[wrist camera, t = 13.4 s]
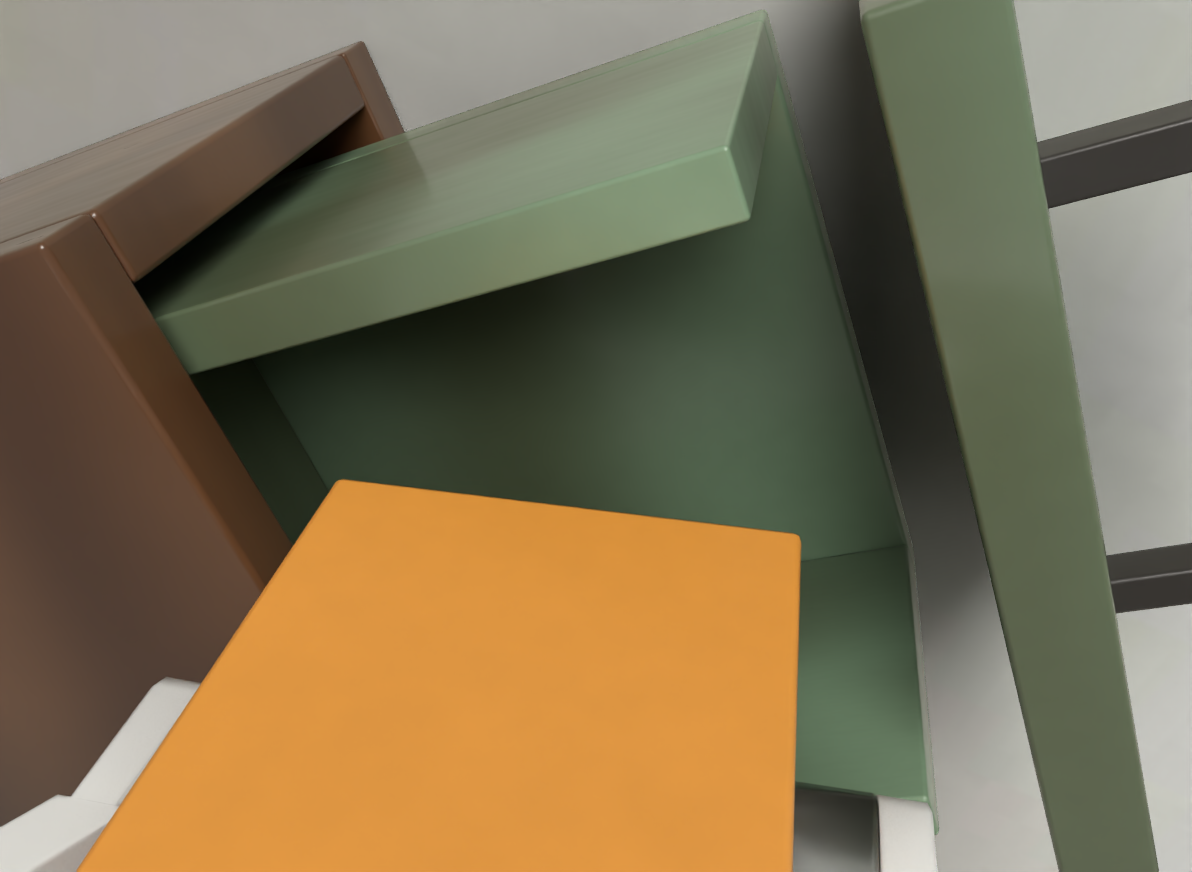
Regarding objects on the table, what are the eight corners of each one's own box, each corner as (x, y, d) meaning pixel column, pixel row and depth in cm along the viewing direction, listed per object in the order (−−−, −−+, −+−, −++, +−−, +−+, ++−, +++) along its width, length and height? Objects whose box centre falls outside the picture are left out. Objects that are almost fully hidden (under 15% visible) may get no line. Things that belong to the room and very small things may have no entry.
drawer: (1273, -247, 13) (1612, -236, 7) (1312, 511, 18) (1526, 860, 13) (148, 166, 19) (-150, 349, 13) (424, 646, 24) (296, 925, 18)
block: (335, 474, 12) (64, 876, 7) (801, 530, 11) (790, 1009, 7) (379, 781, 14) (198, 1202, 10) (755, 842, 14) (725, 1319, 9)
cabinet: (364, 39, 18) (40, 242, 11) (620, 610, 24) (523, 993, 16) (-220, 263, 23) (-710, 506, 16) (110, 689, 29) (-137, 1009, 21)
